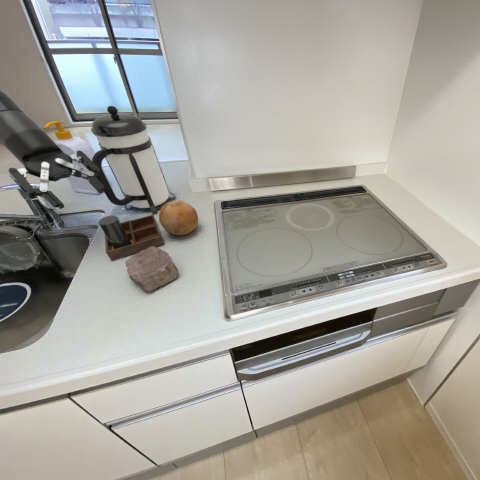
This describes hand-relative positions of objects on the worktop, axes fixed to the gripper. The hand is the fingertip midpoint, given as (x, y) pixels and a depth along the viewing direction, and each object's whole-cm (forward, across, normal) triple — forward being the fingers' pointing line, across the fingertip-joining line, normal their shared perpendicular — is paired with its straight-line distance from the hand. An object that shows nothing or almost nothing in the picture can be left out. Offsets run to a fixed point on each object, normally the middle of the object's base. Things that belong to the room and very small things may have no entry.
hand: (83, 199), depth 61 cm
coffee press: (+4, +19, +17) cm, 25 cm away
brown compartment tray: (+13, +5, +8) cm, 16 cm away
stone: (+24, -1, -3) cm, 24 cm away
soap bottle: (-13, +16, +35) cm, 41 cm away
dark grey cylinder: (+13, +1, +7) cm, 15 cm away
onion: (+18, +14, +2) cm, 23 cm away
